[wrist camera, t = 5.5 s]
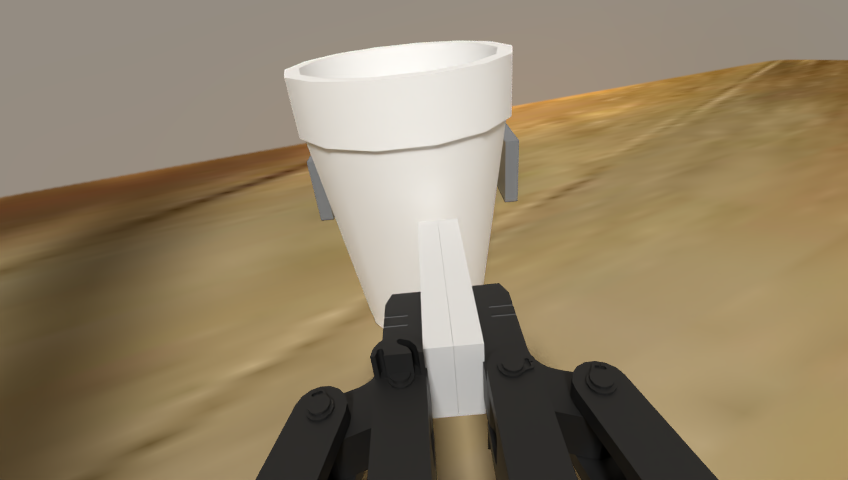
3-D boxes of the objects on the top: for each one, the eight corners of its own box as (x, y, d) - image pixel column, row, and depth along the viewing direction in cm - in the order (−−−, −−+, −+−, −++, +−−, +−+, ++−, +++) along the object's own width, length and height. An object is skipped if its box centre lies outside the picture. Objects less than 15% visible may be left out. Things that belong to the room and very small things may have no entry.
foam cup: (524, 268, 26) (534, 36, 19) (484, 384, 19) (477, 79, 12) (388, 247, 29) (356, 46, 23) (311, 338, 22) (229, 83, 15)
